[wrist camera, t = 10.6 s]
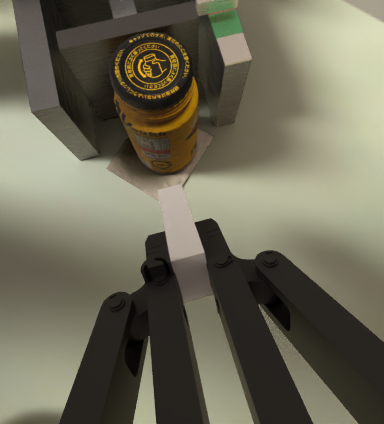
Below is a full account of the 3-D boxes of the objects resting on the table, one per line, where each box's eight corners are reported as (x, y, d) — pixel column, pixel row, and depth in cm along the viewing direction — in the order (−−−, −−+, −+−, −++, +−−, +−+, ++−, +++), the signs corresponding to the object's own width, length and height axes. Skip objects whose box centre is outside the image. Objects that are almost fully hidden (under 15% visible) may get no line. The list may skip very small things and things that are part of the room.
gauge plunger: (101, 120, 29) (54, 41, 19) (87, 57, 31) (37, -46, 21) (225, 90, 30) (241, -1, 20) (205, 30, 32) (211, -82, 22)
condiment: (213, 137, 30) (227, 49, 18) (169, 207, 28) (152, 160, 16) (153, 103, 30) (128, -3, 19) (107, 169, 29) (48, 99, 17)
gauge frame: (70, 162, 29) (-14, 88, 17) (41, 15, 33) (-44, -130, 21) (243, 120, 30) (276, 22, 18) (197, -19, 33) (200, -177, 22)
